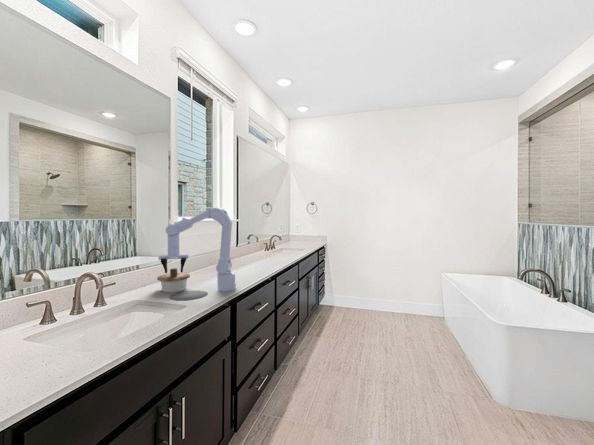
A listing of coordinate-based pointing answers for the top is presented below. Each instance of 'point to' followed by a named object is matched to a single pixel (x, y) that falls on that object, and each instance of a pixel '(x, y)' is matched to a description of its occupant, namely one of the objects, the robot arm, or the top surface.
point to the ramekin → (173, 285)
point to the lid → (173, 276)
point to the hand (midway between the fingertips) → (174, 272)
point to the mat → (188, 295)
